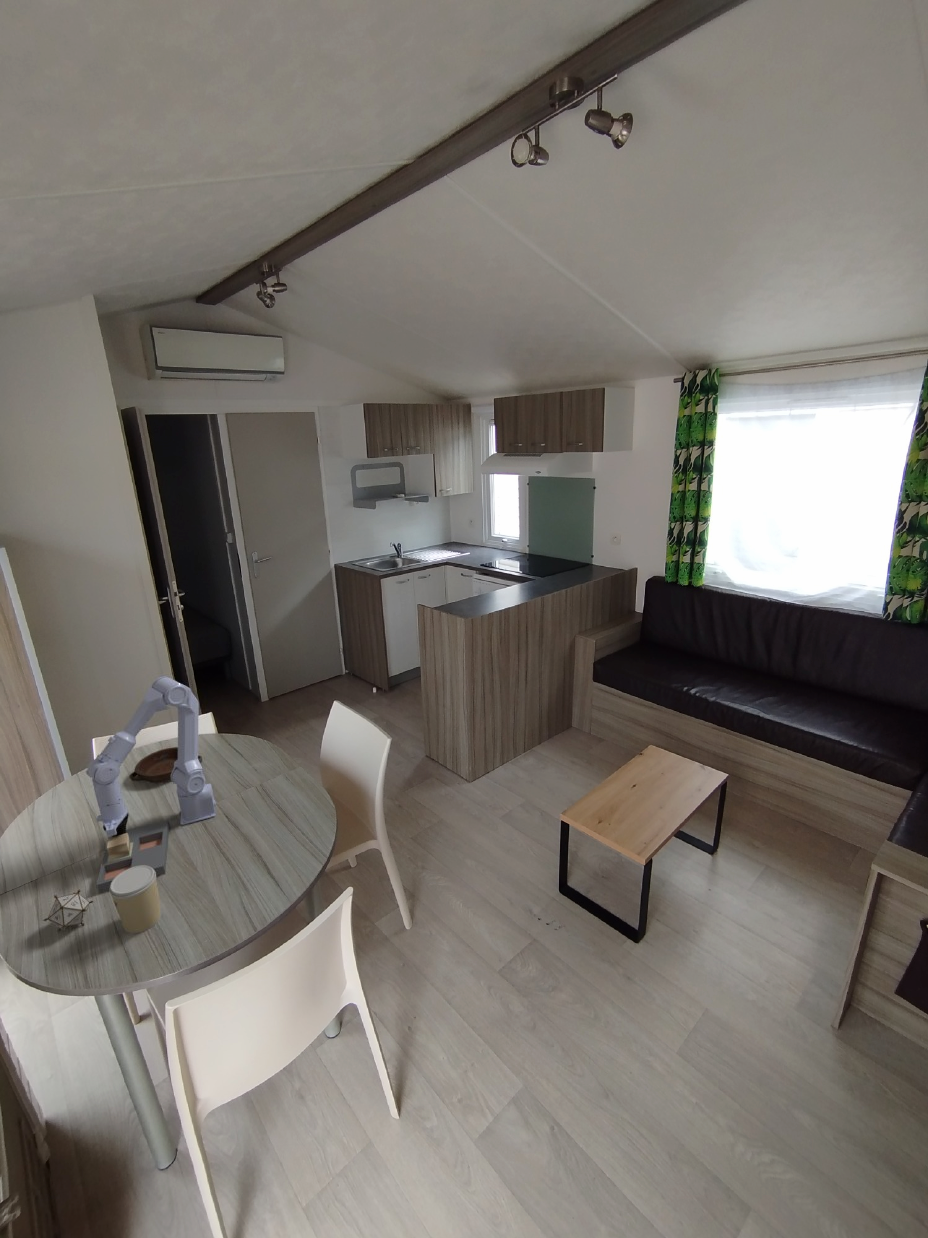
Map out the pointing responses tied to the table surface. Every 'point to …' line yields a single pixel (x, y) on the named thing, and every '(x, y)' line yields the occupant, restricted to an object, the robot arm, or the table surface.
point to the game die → (68, 910)
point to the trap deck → (138, 853)
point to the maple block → (118, 846)
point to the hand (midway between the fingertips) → (121, 842)
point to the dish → (157, 766)
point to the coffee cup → (136, 898)
